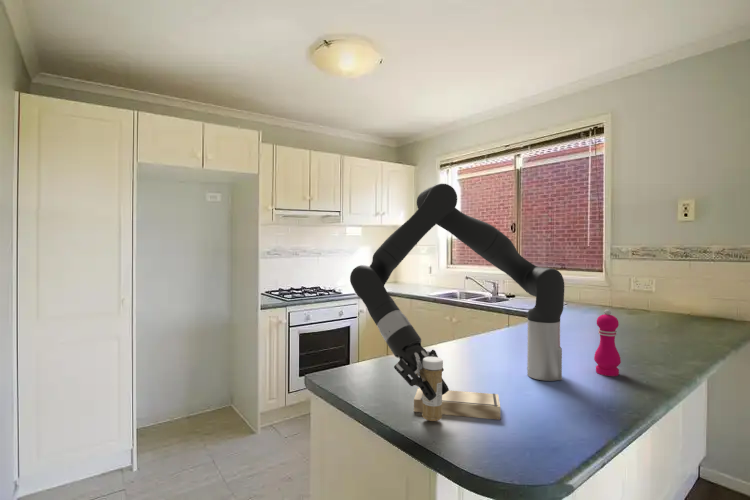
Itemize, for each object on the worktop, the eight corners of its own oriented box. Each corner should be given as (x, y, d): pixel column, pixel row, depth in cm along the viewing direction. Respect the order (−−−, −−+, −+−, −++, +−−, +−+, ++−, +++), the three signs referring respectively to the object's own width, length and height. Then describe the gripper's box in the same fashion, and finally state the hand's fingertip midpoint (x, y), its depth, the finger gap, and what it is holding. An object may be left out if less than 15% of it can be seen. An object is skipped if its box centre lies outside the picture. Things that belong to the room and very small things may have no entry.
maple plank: (498, 406, 101) (498, 393, 101) (500, 419, 93) (500, 406, 93) (418, 399, 105) (418, 387, 105) (413, 411, 97) (413, 398, 97)
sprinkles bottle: (418, 417, 92) (418, 359, 91) (429, 411, 95) (429, 354, 95) (435, 423, 89) (436, 362, 89) (446, 417, 92) (446, 358, 92)
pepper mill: (619, 371, 128) (619, 308, 128) (622, 378, 122) (622, 312, 122) (593, 368, 131) (593, 307, 131) (594, 375, 125) (595, 310, 125)
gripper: (387, 328, 92) (430, 395, 83) (425, 320, 102) (466, 379, 94) (370, 347, 95) (410, 413, 87) (408, 337, 106) (447, 395, 98)
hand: (439, 395), depth 91 cm, fingers closed on sprinkles bottle, 4 cm apart
